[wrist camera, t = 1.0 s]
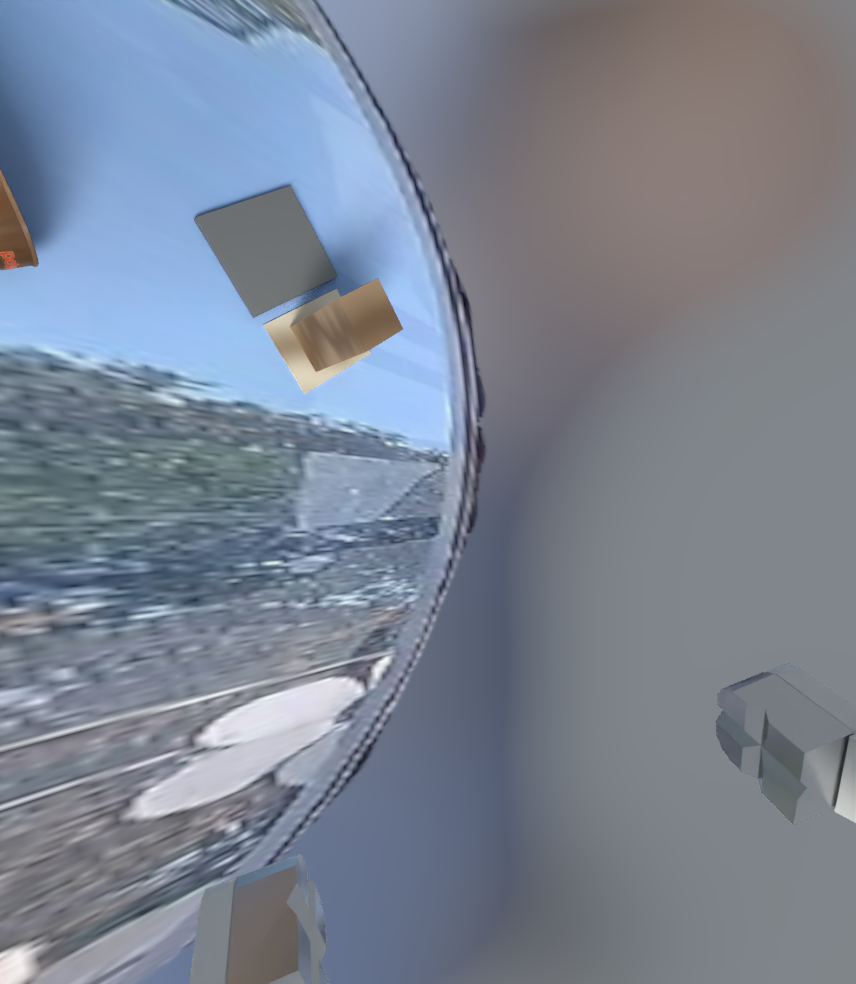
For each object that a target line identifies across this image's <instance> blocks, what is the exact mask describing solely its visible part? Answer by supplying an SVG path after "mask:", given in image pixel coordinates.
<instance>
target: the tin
mask: <svg viewBox="0 0 856 984" xmlns="http://www.w3.org/2000/svg"><path fill="white" fill-rule="evenodd" d="M38 264H39V263H38V257H37V254H36V251H35V248H34V244H33V242H32V239H31V236H30V234H29V231H28V228H27V226H26V224H25V221H24V219H23V216H22V214H21V212H20V210H19V208H18V205H17V203H16V201H15V198H14V196H13V194H12V192H11V190H10V188H9V186H8V184H7V181H6V179H5V177H4V175H3V173H2V172H1V169H0V270H6V269H13V268H19V267H24V266H34V267H36V266H38Z"/></svg>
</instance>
